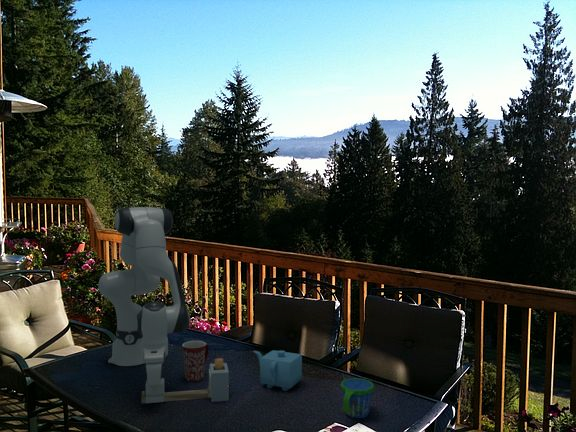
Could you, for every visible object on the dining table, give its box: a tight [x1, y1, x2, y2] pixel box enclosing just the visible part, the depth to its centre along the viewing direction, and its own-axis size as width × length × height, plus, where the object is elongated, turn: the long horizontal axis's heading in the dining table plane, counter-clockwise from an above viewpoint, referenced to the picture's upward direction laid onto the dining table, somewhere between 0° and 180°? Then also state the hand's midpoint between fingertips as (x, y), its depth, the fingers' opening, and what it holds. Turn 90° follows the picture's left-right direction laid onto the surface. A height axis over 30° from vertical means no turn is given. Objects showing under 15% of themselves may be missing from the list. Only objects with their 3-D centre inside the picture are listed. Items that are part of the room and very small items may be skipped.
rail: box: [141, 386, 211, 404], centre depth 184 cm, size 3×24×3 cm, turn 101°
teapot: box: [252, 350, 303, 392], centre depth 197 cm, size 18×16×13 cm
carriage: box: [145, 377, 165, 404], centre depth 182 cm, size 5×6×6 cm
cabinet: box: [208, 362, 230, 403], centre depth 186 cm, size 10×6×10 cm, turn 11°
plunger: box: [214, 357, 224, 370], centre depth 186 cm, size 3×3×5 cm
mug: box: [181, 340, 210, 383], centre depth 205 cm, size 13×9×14 cm
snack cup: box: [340, 377, 375, 419], centre depth 171 cm, size 16×10×10 cm
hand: (155, 389), depth 182 cm, fingers open, 8 cm apart
